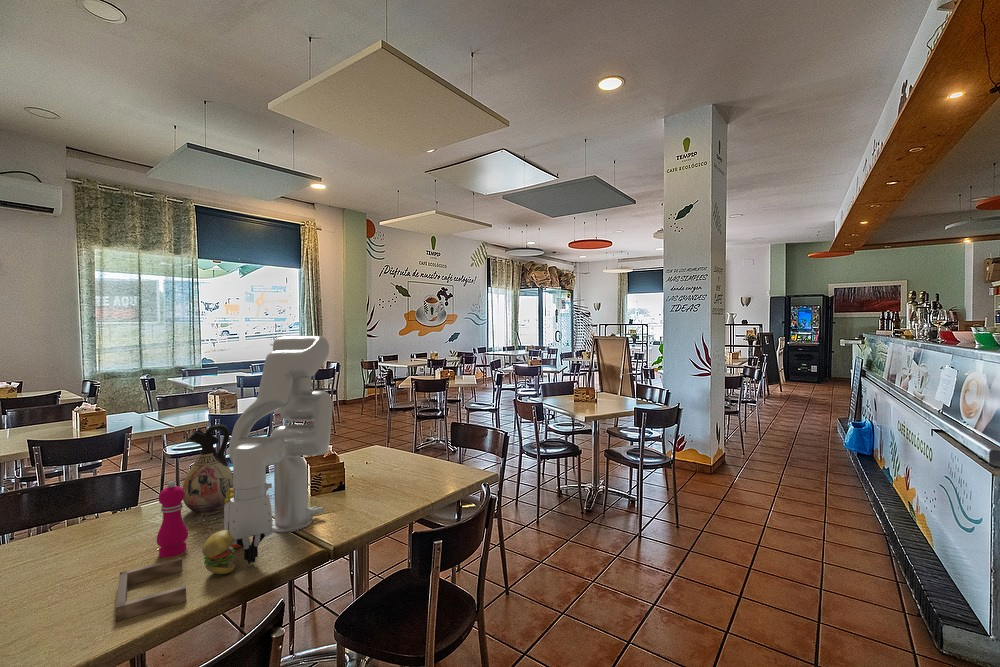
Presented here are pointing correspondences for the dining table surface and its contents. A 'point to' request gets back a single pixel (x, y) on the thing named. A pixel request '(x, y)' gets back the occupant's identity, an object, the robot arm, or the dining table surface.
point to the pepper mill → (172, 522)
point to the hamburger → (219, 553)
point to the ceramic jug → (208, 474)
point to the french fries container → (226, 507)
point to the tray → (150, 601)
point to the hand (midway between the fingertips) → (251, 560)
